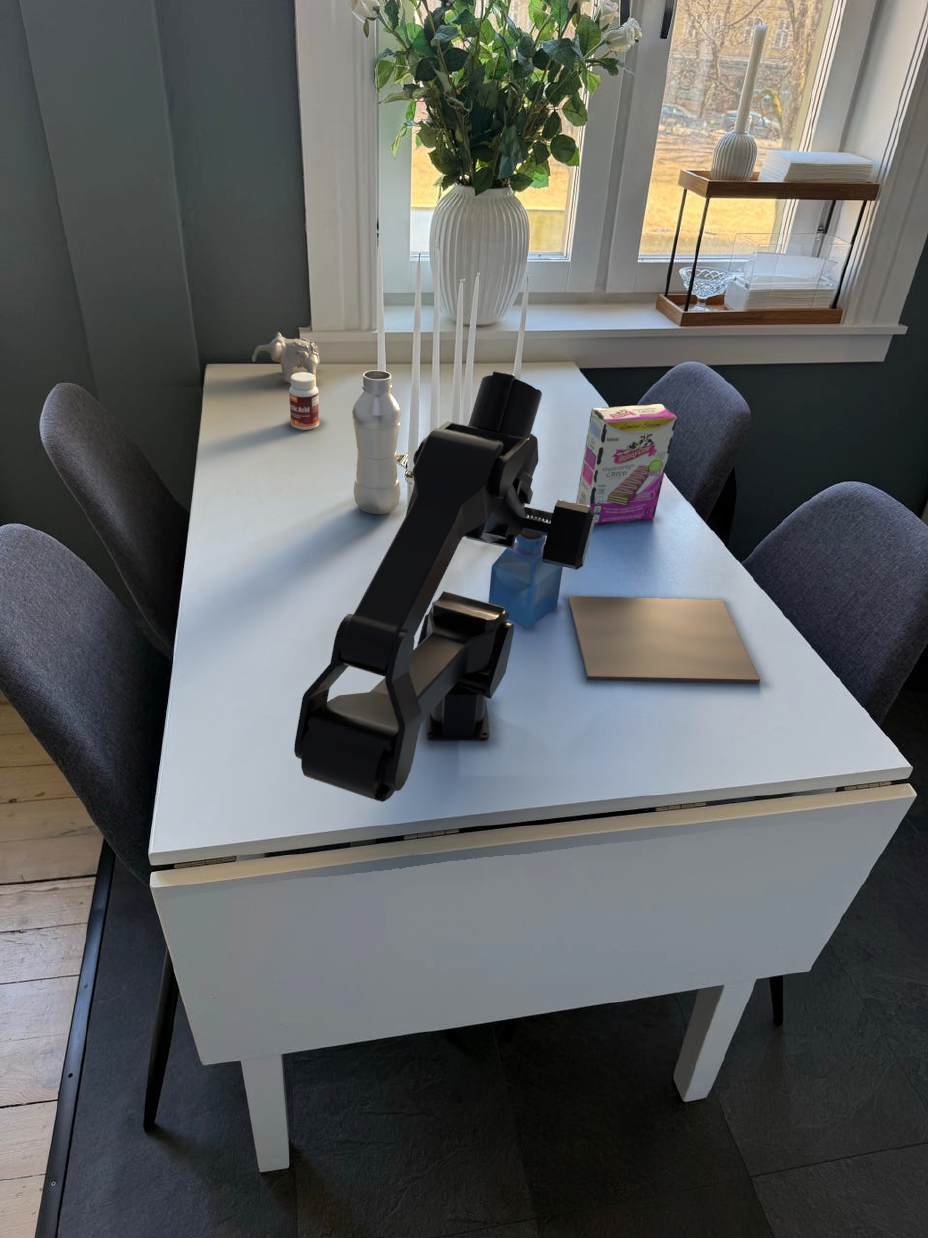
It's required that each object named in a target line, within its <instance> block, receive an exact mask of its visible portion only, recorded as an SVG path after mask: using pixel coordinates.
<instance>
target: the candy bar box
mask: <svg viewBox="0 0 928 1238" xmlns="http://www.w3.org/2000/svg"><path fill="white" fill-rule="evenodd" d="M677 419H678V417H677V416H676V415H675V413H673V412H672V411H671V410H669V409H668V408H667V407H666V406H664V405H663V404H662V403H656V404H654V403H653V404H642V405H641V404H638V405H626V406H608V407H605V406H604V407H592V408H591V411H590V416H589V424H588V428H587V429H588V430H587V435H586V440H585V447H584V453H583V460H582V465H581V472H580V476H579V482H578V488H577V495H576V499H575V503H576V504H581V505H586V506H591V508H592V510H593V511H594V513H595V516H596V519H595V523H594V526H600V525H609V524H618V523H628V522H637V521H645V520H648V521H649V520H653V519H655V515H656V512H657V506H658V502H659V498H660V494H661V489H662V484H663V481H664V476H665V472H666V468H667V464H668V463H667V462H668V458H669V454H670V449H671V446H672V442H673V437H674V433H675V428H676V425H677V424H676V423H677Z"/></svg>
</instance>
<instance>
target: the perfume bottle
mask: <svg viewBox="0 0 928 1238" xmlns="http://www.w3.org/2000/svg"><path fill="white" fill-rule="evenodd" d="M527 518H528V519H533V516H532V517H531V518H529V516H528V517H527ZM533 520H537V519H536V518H535V519H533ZM538 521H540V518H539V519H538ZM542 522H544V520H542ZM546 537H547V536H546V535H541V534H537V533H532V532H528V531H523V530H522V531H521V533H520V534H519V535H518V536H517V537H516V540H515V543H514V547H513V549H510V548H506V547H505V548H504V550H503V551H502V553H500V555H499V556H498V558H497V559H496V560H495V561H494V562H493V563H492V565H491V570H490V580H489V591H488V602H487V603H490V604H493V605H497V606H501V607H504V610H506V611H508V612H509V617H508V620H511V621H513V622H515V623H517V624H518V625H521V626H522V627H524V628H527V629H530V628H531V627H532V626H534V625H535V624H536V623H537V622H539V621H540V620H542V619H544V617H546V616H547V615H548V614H550V613H551V612H552V611H554V610H555V609H557V608H558V604H559V598H560V597H559V596H560V591H561V583H562V577H563V569H564V567H561V566H557V565H553V564H548V563H544V562H542V561H543V559H542V557H543V549H544V544H545V541H546Z"/></svg>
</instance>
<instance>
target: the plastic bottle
mask: <svg viewBox="0 0 928 1238" xmlns="http://www.w3.org/2000/svg"><path fill="white" fill-rule="evenodd" d="M361 388H362V390H363V392H362V393H361V395H360V396H358V398H357V399H356V401H355V403H354V404H353V407H352V411H351V415H352V420H353V428H354V433H355V440H356V442H355V443H356V449H357V450H356V455H357V459H356V471H355V472H356V473H355V479H354V485H353V496H354V502H355V504H356V505H357V506H358V508H359V509H360V510H361V511H363V512H366V513H368V514H374V515H380V514H381V515H383V514H388V513H391V512H392V511H394V510H395V509H396V508H397V506H398V505H399V503H400V497H401V486H400V480H399V478H398V467H397V466H398V465H397V450H398V449H397V448H398V447H397V446H398V438H399V432H400V425H401V417H402V412H401V409H400V406H399V404H398V402H397V401H396V399H395V398H394V396H393V395H392V393H390V391H392V389H393V384H392V374H391V373H390V372H389V371H385V370H379V369H372V370H367V371H365V372H364V373H363V374H362V384H361Z"/></svg>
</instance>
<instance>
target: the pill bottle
mask: <svg viewBox="0 0 928 1238" xmlns="http://www.w3.org/2000/svg"><path fill="white" fill-rule="evenodd" d="M288 394H289V413H290V425H291V426H292V427H293V428H294V429H298V430H304V431H308V430H312V429H315V428H317V427H319V425H320V407H319V406H320V405H319V404H320V403H319V388H318V387H317V377H315V375H313V374H311V373H308V372H307V371H306V372H305V371H299V372H295V373H292V376H291V383H290V387H289V390H288Z"/></svg>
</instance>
